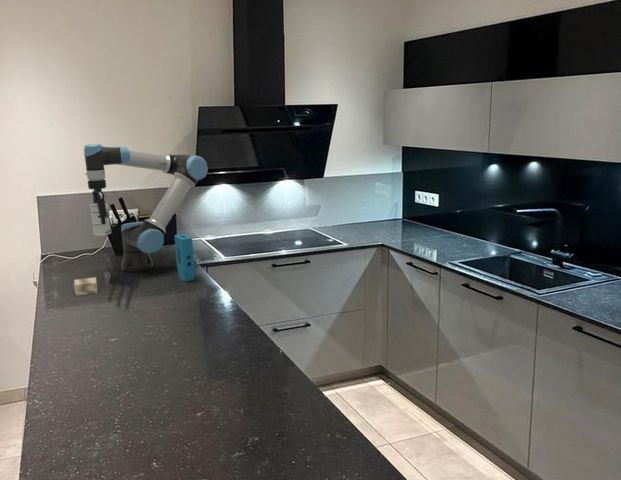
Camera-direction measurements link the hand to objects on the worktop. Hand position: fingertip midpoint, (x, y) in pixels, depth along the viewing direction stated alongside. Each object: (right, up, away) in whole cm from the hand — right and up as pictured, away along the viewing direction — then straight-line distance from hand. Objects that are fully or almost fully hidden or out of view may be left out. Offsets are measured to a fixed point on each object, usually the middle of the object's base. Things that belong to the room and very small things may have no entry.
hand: (102, 229), depth 262 cm
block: (+37, -23, +7) cm, 44 cm away
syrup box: (0, -2, +1) cm, 2 cm away
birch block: (-4, -27, -8) cm, 29 cm away
